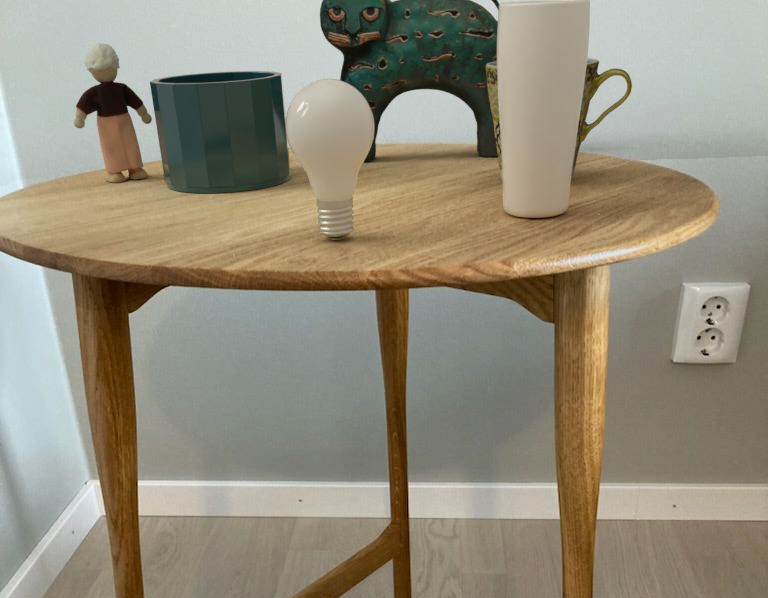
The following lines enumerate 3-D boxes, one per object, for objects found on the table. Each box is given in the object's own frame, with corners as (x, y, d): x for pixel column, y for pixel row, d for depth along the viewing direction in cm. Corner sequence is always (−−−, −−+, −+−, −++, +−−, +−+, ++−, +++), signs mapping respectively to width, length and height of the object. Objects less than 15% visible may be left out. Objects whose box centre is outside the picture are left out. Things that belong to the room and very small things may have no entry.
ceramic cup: (472, 188, 84) (473, 67, 79) (496, 168, 92) (499, 58, 87) (617, 192, 80) (628, 65, 75) (629, 171, 88) (639, 55, 83)
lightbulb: (388, 230, 71) (383, 73, 65) (365, 250, 66) (357, 82, 60) (311, 228, 73) (299, 75, 67) (282, 248, 67) (267, 84, 62)
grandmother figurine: (147, 171, 99) (125, 40, 92) (164, 175, 96) (143, 40, 90) (80, 182, 95) (52, 46, 88) (95, 187, 92) (68, 46, 86)
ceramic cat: (328, 165, 98) (314, -55, 88) (333, 155, 103) (320, -52, 93) (515, 158, 97) (521, -65, 87) (510, 148, 102) (515, -62, 92)
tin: (142, 191, 89) (125, 84, 84) (204, 168, 99) (191, 72, 94) (257, 194, 85) (245, 83, 81) (309, 170, 95) (301, 70, 91)
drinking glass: (589, 206, 75) (604, -2, 68) (559, 224, 70) (571, 1, 63) (513, 201, 78) (519, 1, 71) (479, 218, 73) (482, 4, 66)
